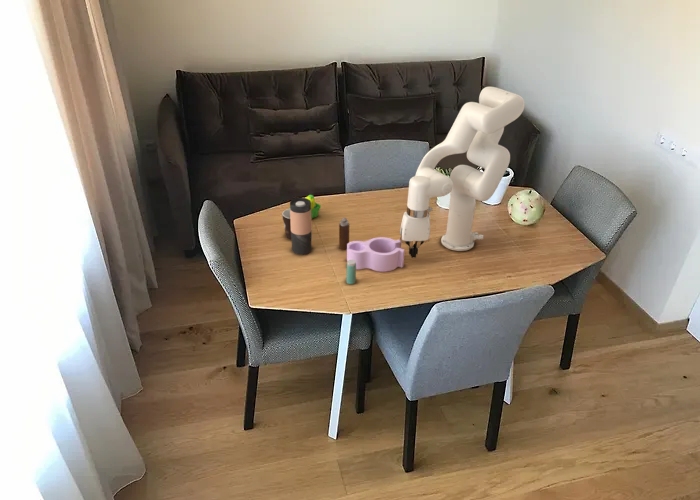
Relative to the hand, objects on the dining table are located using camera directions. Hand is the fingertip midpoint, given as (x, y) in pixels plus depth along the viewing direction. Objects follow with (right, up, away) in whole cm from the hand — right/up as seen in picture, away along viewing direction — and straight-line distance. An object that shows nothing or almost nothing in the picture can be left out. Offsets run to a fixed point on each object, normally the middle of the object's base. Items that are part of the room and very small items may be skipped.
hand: (412, 255), depth 214 cm
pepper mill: (-25, +3, +9) cm, 27 cm away
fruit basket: (-41, +15, +28) cm, 52 cm away
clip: (-14, -3, 0) cm, 14 cm away
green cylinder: (-23, -9, -11) cm, 27 cm away
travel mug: (-41, +2, +7) cm, 42 cm away
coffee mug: (-44, +8, +16) cm, 48 cm away
